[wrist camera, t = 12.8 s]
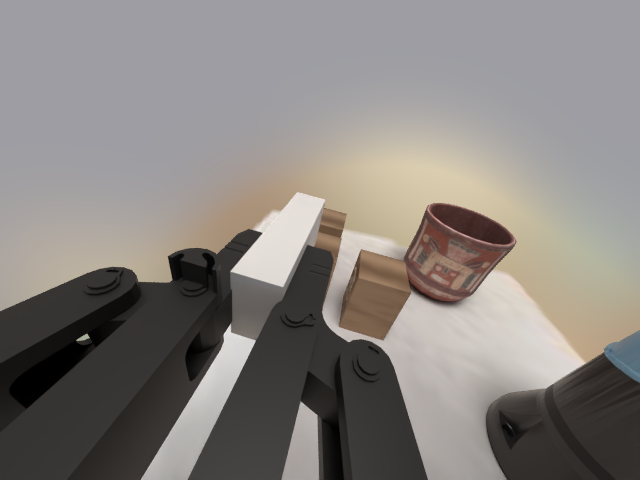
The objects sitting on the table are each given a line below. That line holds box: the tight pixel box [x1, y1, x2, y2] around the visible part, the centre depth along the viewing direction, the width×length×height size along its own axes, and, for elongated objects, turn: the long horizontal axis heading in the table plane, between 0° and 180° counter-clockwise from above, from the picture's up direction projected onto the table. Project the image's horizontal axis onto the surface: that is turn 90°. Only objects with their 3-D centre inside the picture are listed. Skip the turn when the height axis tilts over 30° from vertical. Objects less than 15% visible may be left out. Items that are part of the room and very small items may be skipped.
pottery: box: [404, 203, 516, 301], centre depth 52 cm, size 18×18×18 cm
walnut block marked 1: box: [318, 208, 346, 238], centre depth 52 cm, size 8×8×12 cm
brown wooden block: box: [314, 232, 342, 304], centre depth 43 cm, size 8×8×12 cm
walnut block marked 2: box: [339, 249, 411, 340], centre depth 41 cm, size 8×8×12 cm
